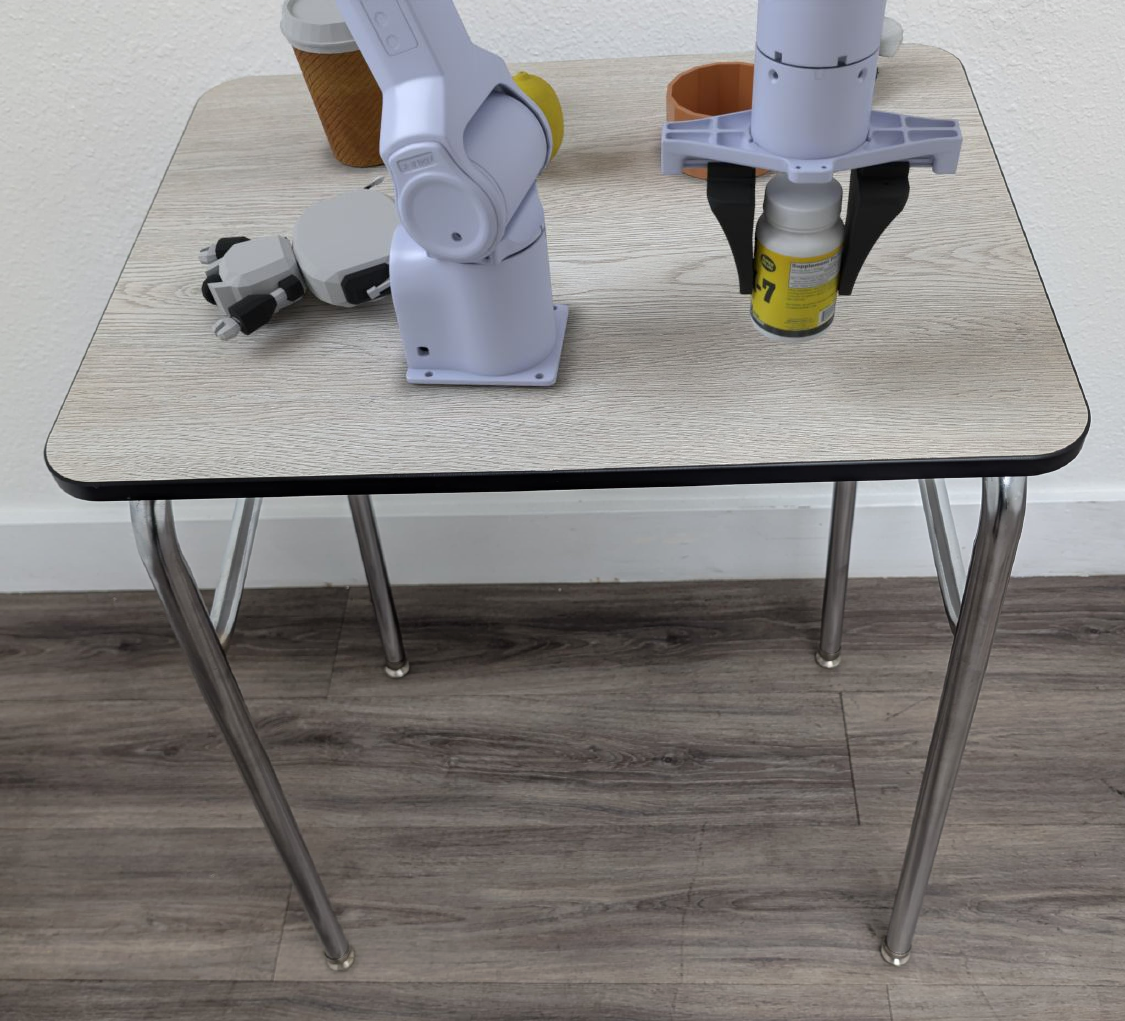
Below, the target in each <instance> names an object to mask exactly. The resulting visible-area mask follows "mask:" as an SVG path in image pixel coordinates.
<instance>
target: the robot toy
mask: <svg viewBox="0 0 1125 1021" xmlns="http://www.w3.org/2000/svg"><path fill="white" fill-rule="evenodd" d="M385 178H386V176H385V175H378V176H377V177H375V178H373V179H372V181H370V182H369V183H367V184H365V185H364V186H362V187H360V188H356V189H353V190H350V191H347V192H344V193H342V194H341V193H340V194H338V195H334V196H330V197H328V198H325V199H321V200H317V201H315V202H312V203H311V204H310V205H309V206H308V207H306V209H305V210H304V211H303V212H302V213H301V214H300V215H299V217H298V219H297V221H296V222H295V223H294V226H293V228H292V235H291V240H290V239H288V237H287V236H281V235H279V234H275V235H274V234H273V235H269V236H262V237H258V238H253V239H251V238H248V237H246V236H244V235H242V236H240V235H239V236H227V237H220V238H219V239H218V240H217V241H216V243H214V242H212V243H207V244H204V245H203V246H202V247H201V248H200V250H199V252H198V253H197V259H198V261H199V262H200V263H201V264H202V265H207V267H206V269H205V271H204V273H205V276H206V278H205V279H204V280H203V281H202V285H201V288H200V289H201V290H200V291H201V293H202V297H203V298H204V300H205V301H206V302H207V303H209V304H210V305H212V306H217V307H218V310H219V312H221V313H222V314H223V315H225V316H229V317H224V318H223V317H222V318H219V319H218V320H217V321H215V323H213V324H212V326H211V331H212V333H213V335H214V336H215V337H218V339H219V340H220V341H225V342H227V341H229V340H232V339H235V338H237V336H238V334H239V333H240V332H241V333H242V334H244V335H246V336H249V335H251V334H253V333H254V332H256V331H258V330H259V329H261V328H262V327H263V326H265V325H266V324H268V323H270V321H271V319H272V317H273V316H274V315H275V314H277V313H278V312H280V310H281V309H283V308H286V307H288V306H290V305H292V304H295V303H297V302H298V301H300V300H302V299H303V297H304V296H305V295H306V291H307V288H308V289H309V291H310V292H311V293H312V295H314V296H315V297H316V298H317V299H319V301H322V302H324V303H327V304H330V305H333V306H339V307H345V308H353V307H357V306H359V305H362V304H366V303H373V302H378V301H380V300H383V299H384V298H386V297H388V296H390V295H392V293H391V286H390V271H389V259H390V248H391V242H392V238H393V234H394V231H395V229H396V227H397V226H398V225H399V224H400V223H401V222H400V219H399V217H398V214H397V211H396V206H395V198H394V197H392V196H390V195H389V194H387V193H384V192H381V191H379V190H375V189H372V188H373V187H375V186H379V185H380V184H382V183H383V182H384V180H385ZM306 286H307V287H306Z"/></svg>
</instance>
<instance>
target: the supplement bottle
mask: <svg viewBox="0 0 1125 1021" xmlns="http://www.w3.org/2000/svg"><path fill="white" fill-rule="evenodd" d="M843 196H844V190H843V186H842V184H841V183H840V182H839V180H837V179H836V178H835V177H833V178H832V180H831V181H830V182H828V183H823V184H798V183H793V182H791V181H790V180H789V179H788V174H787V173H782V172H780V173H779V174H776V175H774V176H773V177H772V178H770V179H769V181H768V182H767V183H766V185H765V188H764V195H763V202H762V213H761V214H760V215H759V217H758V219H757V220H756V224H755V228H754V229H755V230H754V241H753V292H752V295H750V301H749V302H750V303H749V318H750V322H751V324H752V326H753V327H754V328H755V329H756V331H757V332H759V334H761V335H763V337H766V338H768V339H770V340H772V341H775V342H779V343H783V344H800V343H806V342H810V341H813V340H816V339H819V338H821V337H822V336H823V335H826V333H827V332H828V331H829V330H830V329H831V327H832V325H833V323H834V319H835V314H836V307H837V299H838V284H839V277H840V269H841V261H842V254H843V247H844V240H845V226H844V225H845V222H844V221H843V219H842V217H841V213H842V211H843V210H842V209H843V208H842V207H843Z"/></svg>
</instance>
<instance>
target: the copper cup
mask: <svg viewBox="0 0 1125 1021" xmlns="http://www.w3.org/2000/svg"><path fill="white" fill-rule="evenodd" d="M753 79H754V63H752V62H746V61H717V62H711V63H706V64H701V65H697V66H693V67H691V68H689V69H687V70H684V71H682V72H681V73H678V74H677V75H675V77H674V78H673V79H671V81H670V82H669V83H668V84H667V86H666V96H665V99H666V100H665V109H666V111H665V112H666V113H665V114H666V115H665V116H666V121H665V122H677V121H689V120H696V119H703V118H708V117H713V116H719V115H724V114H730V113H735V112H741V111H746V110H751V109H752V97H753ZM770 171H771V170H766V169H760V168H756V177H758V176H762V175H765V174H766V173H769V172H770ZM683 173H684V174H686V175H688V176H691V177H693V178H697V179H701V180H706V181H707V168H683Z"/></svg>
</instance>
